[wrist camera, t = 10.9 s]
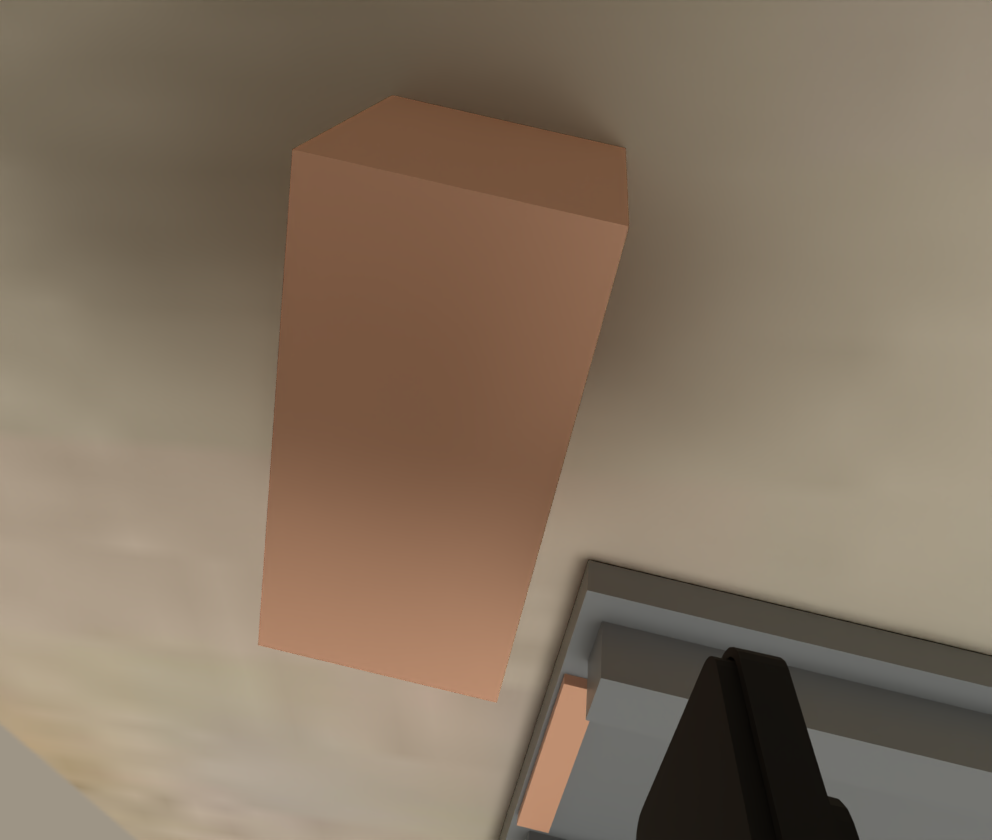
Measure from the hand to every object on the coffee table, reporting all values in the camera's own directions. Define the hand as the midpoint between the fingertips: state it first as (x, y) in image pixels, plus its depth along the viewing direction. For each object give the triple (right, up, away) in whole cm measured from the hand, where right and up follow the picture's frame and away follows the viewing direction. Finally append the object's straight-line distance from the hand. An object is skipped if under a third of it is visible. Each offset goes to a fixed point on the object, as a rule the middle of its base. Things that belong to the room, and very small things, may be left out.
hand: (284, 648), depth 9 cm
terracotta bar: (+2, +4, +7) cm, 8 cm away
